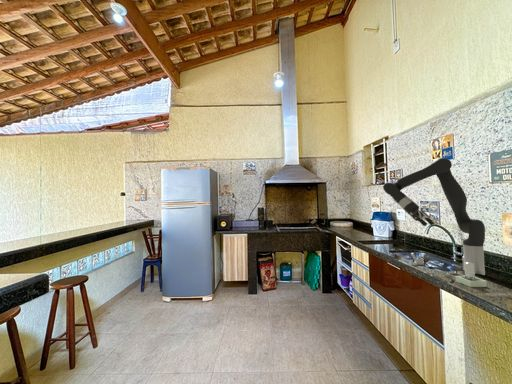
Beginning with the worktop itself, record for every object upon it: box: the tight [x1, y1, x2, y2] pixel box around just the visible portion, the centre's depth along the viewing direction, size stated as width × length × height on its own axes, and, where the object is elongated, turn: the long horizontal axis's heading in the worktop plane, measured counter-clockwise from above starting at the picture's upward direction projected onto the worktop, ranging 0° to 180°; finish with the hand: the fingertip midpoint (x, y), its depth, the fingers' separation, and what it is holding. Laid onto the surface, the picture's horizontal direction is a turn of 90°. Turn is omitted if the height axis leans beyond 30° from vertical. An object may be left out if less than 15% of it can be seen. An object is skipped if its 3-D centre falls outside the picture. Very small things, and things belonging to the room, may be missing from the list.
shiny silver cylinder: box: [464, 262, 476, 281], centre depth 123 cm, size 4×4×11 cm
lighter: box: [410, 252, 424, 266], centre depth 165 cm, size 7×2×8 cm, turn 78°
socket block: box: [444, 272, 465, 282], centre depth 131 cm, size 7×7×3 cm
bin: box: [455, 276, 488, 288], centre depth 122 cm, size 9×9×4 cm
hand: (429, 224), depth 140 cm, fingers open, 8 cm apart
